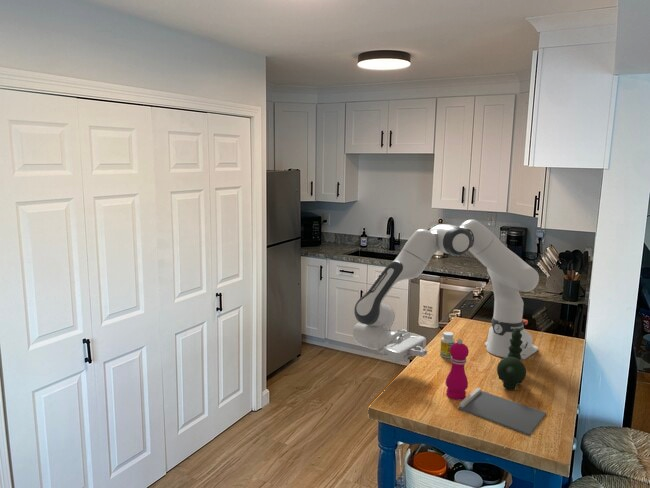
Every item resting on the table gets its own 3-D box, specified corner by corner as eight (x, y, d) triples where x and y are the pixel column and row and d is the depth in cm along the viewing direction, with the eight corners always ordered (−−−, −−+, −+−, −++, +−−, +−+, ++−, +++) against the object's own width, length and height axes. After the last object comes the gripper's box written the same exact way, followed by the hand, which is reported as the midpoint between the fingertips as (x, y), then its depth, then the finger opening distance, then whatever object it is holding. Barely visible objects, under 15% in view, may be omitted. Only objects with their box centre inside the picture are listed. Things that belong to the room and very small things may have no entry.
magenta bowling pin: (470, 395, 161) (475, 339, 157) (460, 403, 156) (465, 345, 152) (451, 388, 166) (455, 333, 162) (440, 395, 160) (444, 339, 157)
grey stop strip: (459, 408, 152) (459, 402, 152) (477, 392, 163) (477, 387, 163) (462, 409, 152) (463, 404, 151) (480, 393, 162) (480, 388, 162)
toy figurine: (499, 371, 184) (493, 393, 161) (504, 323, 182) (498, 338, 159) (526, 376, 180) (523, 399, 157) (531, 327, 178) (528, 344, 155)
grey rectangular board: (458, 409, 152) (458, 407, 152) (478, 391, 164) (478, 389, 164) (529, 435, 138) (529, 434, 138) (545, 414, 150) (546, 412, 150)
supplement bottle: (446, 352, 197) (447, 330, 195) (456, 356, 192) (458, 334, 190) (437, 354, 194) (438, 332, 192) (447, 359, 189) (448, 336, 187)
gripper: (375, 342, 167) (410, 353, 158) (406, 328, 182) (439, 337, 173) (374, 359, 168) (409, 371, 159) (405, 343, 183) (438, 353, 174)
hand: (425, 353), depth 166 cm, fingers closed
